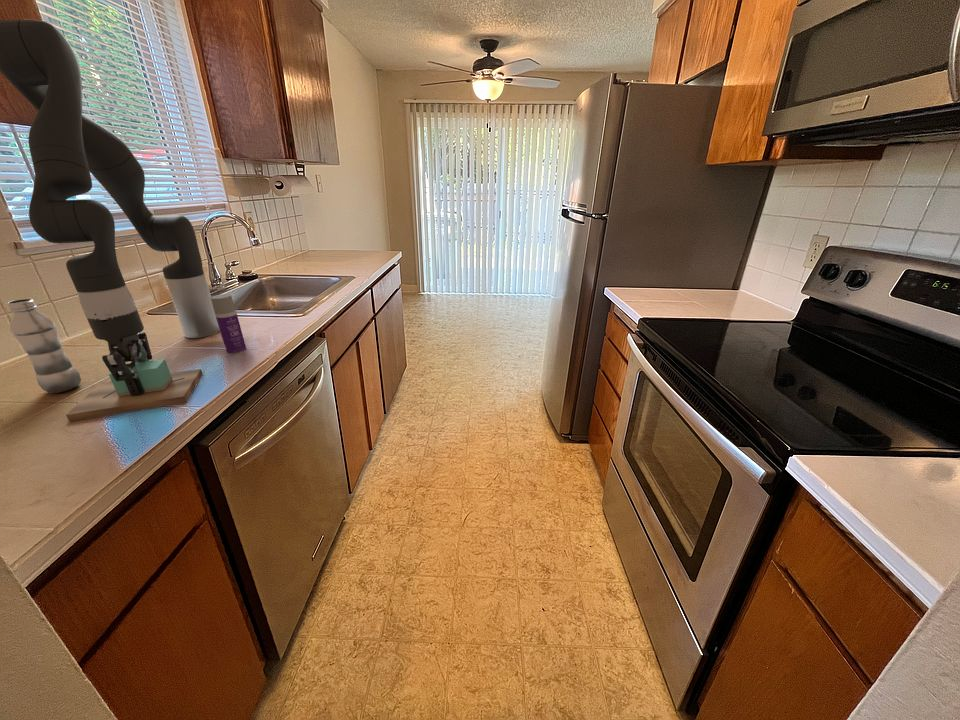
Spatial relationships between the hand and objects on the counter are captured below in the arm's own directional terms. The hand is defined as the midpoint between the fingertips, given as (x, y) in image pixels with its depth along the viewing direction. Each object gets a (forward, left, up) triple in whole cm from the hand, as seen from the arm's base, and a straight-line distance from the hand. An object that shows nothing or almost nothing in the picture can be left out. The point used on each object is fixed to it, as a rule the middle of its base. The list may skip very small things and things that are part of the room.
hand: (143, 388), depth 84 cm
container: (-20, +14, -2) cm, 24 cm away
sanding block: (0, +1, 0) cm, 1 cm away
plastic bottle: (-10, -18, -2) cm, 21 cm away
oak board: (0, -1, -2) cm, 2 cm away
